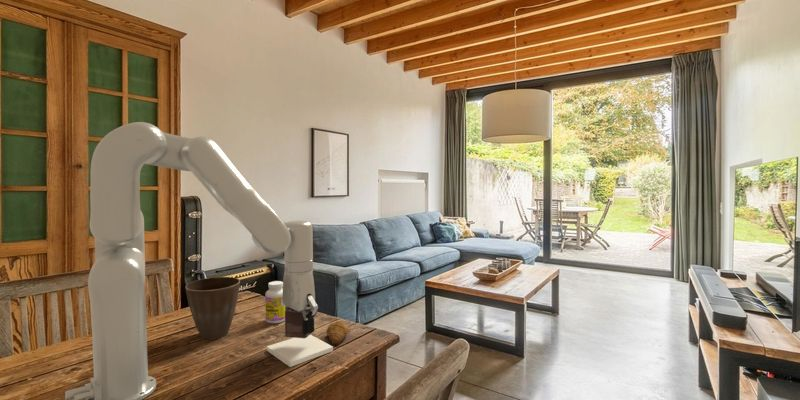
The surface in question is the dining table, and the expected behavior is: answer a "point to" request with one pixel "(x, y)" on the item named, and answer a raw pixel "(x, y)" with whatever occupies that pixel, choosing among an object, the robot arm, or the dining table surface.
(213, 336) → the plant pot
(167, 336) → the dining table surface
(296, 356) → the tile
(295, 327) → the box
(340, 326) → the croissant
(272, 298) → the supplement bottle
